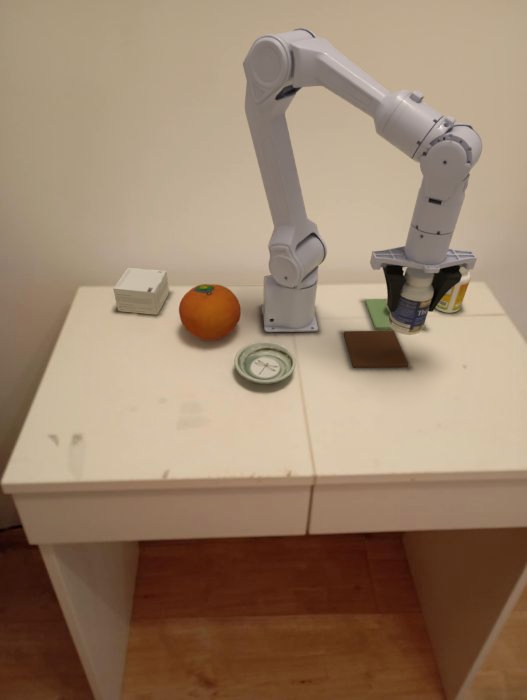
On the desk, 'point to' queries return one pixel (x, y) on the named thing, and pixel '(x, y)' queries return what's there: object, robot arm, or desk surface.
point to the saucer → (265, 362)
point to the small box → (141, 291)
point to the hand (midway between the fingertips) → (409, 308)
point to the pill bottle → (413, 302)
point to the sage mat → (379, 313)
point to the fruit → (209, 311)
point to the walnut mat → (374, 349)
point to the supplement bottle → (455, 294)
